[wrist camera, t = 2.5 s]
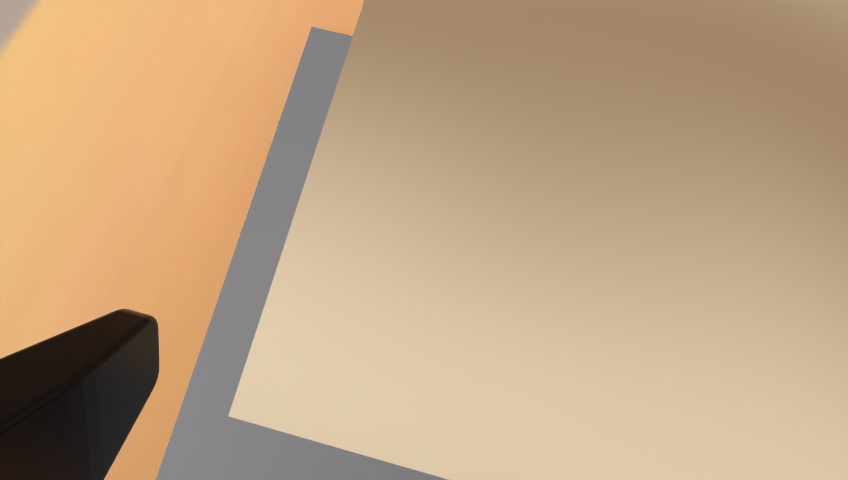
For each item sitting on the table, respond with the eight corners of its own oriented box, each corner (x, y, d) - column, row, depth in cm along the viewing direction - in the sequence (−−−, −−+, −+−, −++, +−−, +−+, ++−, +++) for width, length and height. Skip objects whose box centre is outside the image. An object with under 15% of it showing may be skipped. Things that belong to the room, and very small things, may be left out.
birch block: (587, 488, 17) (907, 610, 5) (374, 427, 17) (227, 416, 6) (631, 276, 18) (973, -9, 6) (430, 225, 18) (407, -128, 7)
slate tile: (744, 758, 16) (756, 771, 15) (134, 568, 17) (123, 573, 17) (833, 160, 19) (845, 152, 19) (315, 38, 20) (311, 26, 20)
